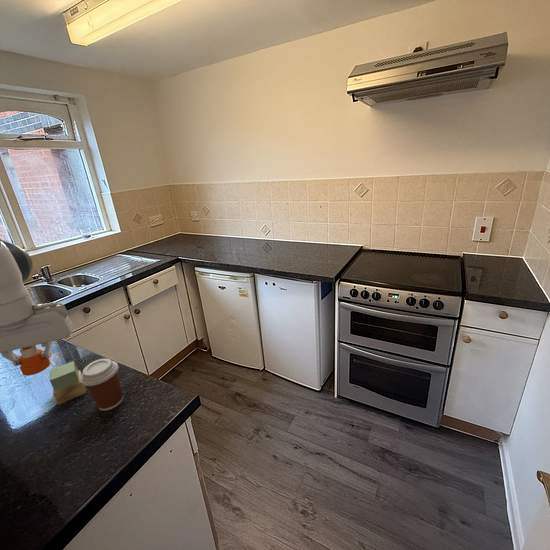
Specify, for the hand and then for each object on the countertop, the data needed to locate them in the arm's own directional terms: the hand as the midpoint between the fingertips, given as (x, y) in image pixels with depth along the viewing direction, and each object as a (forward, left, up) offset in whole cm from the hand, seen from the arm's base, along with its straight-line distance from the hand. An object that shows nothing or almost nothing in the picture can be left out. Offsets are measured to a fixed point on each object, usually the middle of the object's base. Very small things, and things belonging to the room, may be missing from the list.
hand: (33, 360), depth 72 cm
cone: (0, 0, -2) cm, 2 cm away
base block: (0, +11, -19) cm, 21 cm away
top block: (0, +11, -15) cm, 18 cm away
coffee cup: (+12, +1, -19) cm, 22 cm away
